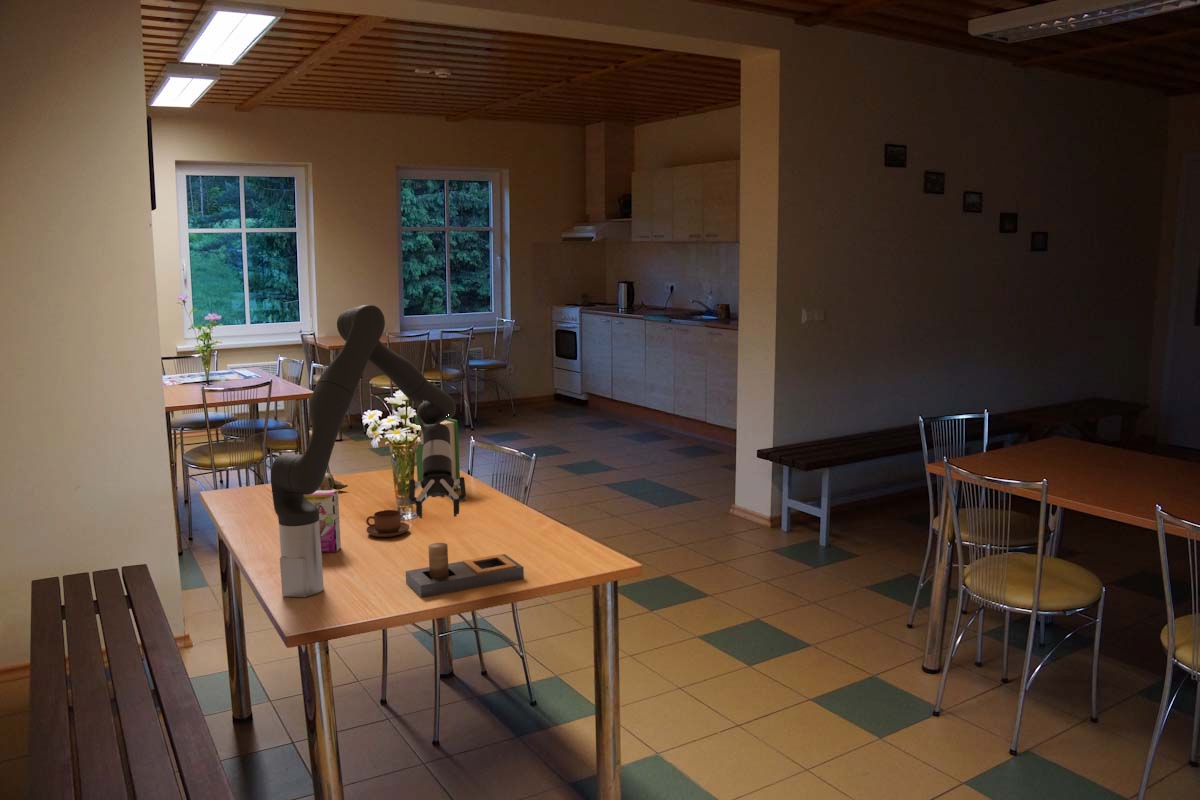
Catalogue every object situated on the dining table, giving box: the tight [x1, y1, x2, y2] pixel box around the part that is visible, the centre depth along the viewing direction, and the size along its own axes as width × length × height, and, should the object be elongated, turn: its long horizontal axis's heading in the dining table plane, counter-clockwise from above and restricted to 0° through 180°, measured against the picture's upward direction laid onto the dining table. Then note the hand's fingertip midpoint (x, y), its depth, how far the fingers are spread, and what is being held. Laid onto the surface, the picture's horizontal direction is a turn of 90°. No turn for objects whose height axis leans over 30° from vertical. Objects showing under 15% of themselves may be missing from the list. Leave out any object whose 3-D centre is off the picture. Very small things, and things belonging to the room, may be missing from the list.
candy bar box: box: [303, 489, 342, 554], centre depth 262 cm, size 11×5×16 cm, turn 92°
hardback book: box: [414, 415, 461, 492], centre depth 330 cm, size 18×7×24 cm, turn 36°
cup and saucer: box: [365, 509, 410, 538], centre depth 278 cm, size 12×12×6 cm
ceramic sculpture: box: [318, 471, 349, 491], centre depth 327 cm, size 11×9×15 cm
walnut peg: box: [427, 542, 449, 580], centre depth 233 cm, size 4×4×10 cm
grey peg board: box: [405, 553, 525, 599], centre depth 236 cm, size 26×12×3 cm, turn 118°
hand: (438, 515), depth 242 cm, fingers open, 8 cm apart
